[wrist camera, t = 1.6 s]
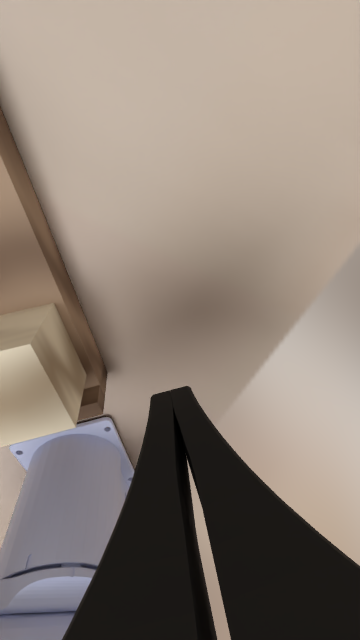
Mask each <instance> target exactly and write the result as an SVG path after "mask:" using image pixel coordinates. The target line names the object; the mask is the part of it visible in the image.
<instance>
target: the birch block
mask: <svg viewBox="0 0 360 640" xmlns="http://www.w3.org/2000/svg"><path fill="white" fill-rule="evenodd" d="M86 376H87V375H86V373H85V370H84V368H83V366H82V364H81V362H80V359H79V357H78V355H77V353H76V351H75V348H74V346H73V344H72V342H71V340H70V337H69V335H68V333H67V331H66V329H65V326H64V324H63V322H62V320H61V318H60V315H59V313H58V311H57V309H56V307H55V304H54V303H51V304H47V305H43V306H39V307H34V308H30V309H26V310H21V311H17V312H13V313H8V314H4V315H0V447H4V446H8V445H11V444H15V443H19V442H23V441H27V440H30V439H34V438H38V437H42V436H46V435H49V434H53V433H57V432H61V431H65V430H69V429H72V428H76V425H77V420H78V415H79V410H80V405H81V400H82V395H83V390H84V386H85V381H86Z"/></svg>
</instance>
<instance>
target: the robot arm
mask: <svg viewBox="0 0 360 640" xmlns="http://www.w3.org/2000/svg"><path fill="white" fill-rule="evenodd" d="M107 427H109V428H107ZM9 449H10V451H11V452H12V453H13V454H14V456H15V457H16V458H17V460H18V461H19V462H20V464H21V465H22V466H23V467H24V469H25V470H26V471H27V473H26V476H25V479H24V482H23V485H22V488H21V491H20V494H19V497H18V499H17V502H16V505H15V508H14V511H13V514H12V517H11V520H10V523H9V526H8V529H7V532H6V535H5V538H4V541H3V544H2V547H1V549H0V640H217V636H216V631H215V627H214V621H213V616H212V612H211V607H210V602H209V597H208V592H207V587H206V582H205V577H204V572H203V568H202V563H201V558H200V553H199V547H198V542H197V535H196V528H195V520H194V513H193V505H192V497H191V489H190V481H189V473H188V466H187V460H188V463H189V466H190V469H191V473H192V476H193V479H194V482H195V486H196V489H197V492H198V495H199V498H200V502H201V505H202V508H203V513H204V517H205V522H206V526H207V531H208V536H209V540H210V545H211V549H212V554H213V558H214V563H215V567H216V572H217V577H218V581H219V585H220V590H221V595H222V600H223V604H224V609H225V613H226V618H227V623H228V627H229V631H230V636H231V640H360V566H359V565H358V564H356V563H355V562H354V561H353V560H352V559H350V558H349V557H348V556H346V555H345V554H344V553H343V552H342V551H340V550H339V549H338V548H337V547H336V546H334V545H333V544H332V543H331V542H330V541H328V540H327V539H326V538H325V537H323V536H322V535H321V534H319V532H318V531H316V530H315V529H314V528H313V527H312V526H311V525H310V524H308V523H307V522H306V521H305V520H304V519H303V518H302V517H301V516H299V515H298V514H297V513H296V512H295V511H294V510H293V509H292V508H291V507H289V506H288V505H287V504H286V503H285V502H284V501H282V500H281V498H279V497H278V496H277V495H276V494H275V493H274V492H273V491H272V490H271V489H270V488H269V487H268V486H267V485H266V484H265V483H264V482H263V481H262V480H261V479H260V478H259V477H258V476H257V475H256V474H255V473H254V472H253V471H252V470H251V469H250V468H249V467H248V466H247V464H246V463H245V462H244V461H243V460H242V459H241V458H240V457H239V456H238V454H237V453H236V452H235V451H234V450H233V449H232V447H231V446H230V445H229V444H228V443H227V442H226V440H225V439H224V438H223V437H222V435H221V434H220V433H219V432H218V430H217V429H216V428H215V426H214V425H213V424H212V422H211V421H210V420H209V418H208V417H207V415H206V414H205V412H204V411H203V409H202V408H201V406H200V405H199V403H198V401H197V400H196V398H195V396H194V394H193V392H192V390H191V388H190V387H188V386H185V387H181V388H177V389H173V390H170V391H166V392H162V393H158V394H154V395H153V396H152V397H151V401H150V410H149V416H148V422H147V427H146V432H145V436H144V440H143V444H142V448H141V452H140V455H139V459H138V462H137V465H136V468H135V471H134V469H133V466H132V464H131V462H130V460H129V457H128V455H127V453H126V451H125V448H124V446H123V444H122V442H121V439H120V437H119V435H118V432H117V430H116V428H115V426H114V423H113V421H112V419H111V418H109V417H103V418H100V419H96V420H92V421H88V422H84V423H81V424H77V425H76V428H72V429H69V430H65V431H61V432H57V433H53V434H49V435H46V436H42V437H38V438H34V439H30V440H27V441H23V442H19V443H15V444H11V445H10V447H9ZM186 456H187V457H186Z"/></svg>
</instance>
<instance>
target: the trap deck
mask: <svg viewBox="0 0 360 640" xmlns="http://www.w3.org/2000/svg"><path fill="white" fill-rule="evenodd" d="M51 303H54V304H55V307H56V309H57V311H58V313H59V315H60V318H61V320H62V322H63V324H64V326H65V329H66V331H67V333H68V335H69V337H70V340H71V342H72V344H73V346H74V348H75V351H76V353H77V355H78V357H79V359H80V362H81V364H82V366H83V368H84V370H85V373H86V375H87V376H86V381H85V386H84V390H83V395H82V400H81V405H80V410H79V415H78V420H82V419H86V418H89V417H93V416H97V415H101V414H103V409H104V400H105V390H106V380H107V370H106V368H105V365H104V363H103V360H102V358H101V355H100V353H99V350H98V348H97V345H96V343H95V340H94V338H93V335H92V333H91V331H90V328H89V326H88V323H87V321H86V318H85V316H84V313H83V311H82V308H81V306H80V303H79V301H78V298H77V296H76V293H75V291H74V288H73V286H72V283H71V281H70V278H69V276H68V273H67V271H66V268H65V266H64V264H63V261H62V259H61V256H60V254H59V251H58V249H57V246H56V244H55V241H54V239H53V236H52V234H51V231H50V229H49V226H48V224H47V221H46V219H45V216H44V214H43V211H42V209H41V206H40V204H39V201H38V199H37V197H36V194H35V192H34V189H33V187H32V184H31V182H30V179H29V177H28V174H27V172H26V169H25V167H24V164H23V162H22V159H21V157H20V154H19V152H18V149H17V147H16V144H15V142H14V139H13V137H12V134H11V132H10V129H9V127H8V125H7V122H6V120H5V117H4V115H3V112H2V110H1V107H0V315H4V314H8V313H13V312H17V311H21V310H26V309H30V308H34V307H39V306H43V305H47V304H51ZM78 420H77V421H78Z"/></svg>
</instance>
